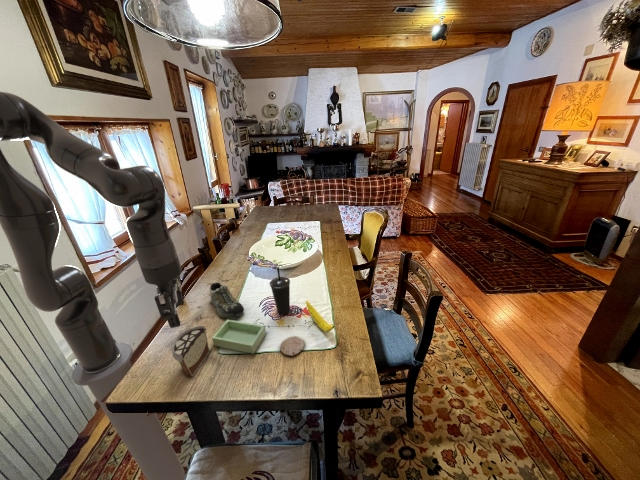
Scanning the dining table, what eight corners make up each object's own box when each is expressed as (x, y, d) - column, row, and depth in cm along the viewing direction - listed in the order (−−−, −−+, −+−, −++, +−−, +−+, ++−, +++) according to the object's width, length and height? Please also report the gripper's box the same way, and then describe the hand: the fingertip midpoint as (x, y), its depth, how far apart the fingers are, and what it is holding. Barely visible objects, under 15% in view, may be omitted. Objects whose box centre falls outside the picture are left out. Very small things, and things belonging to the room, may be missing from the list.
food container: (195, 346, 86) (187, 323, 82) (212, 347, 85) (205, 325, 81) (170, 378, 75) (160, 354, 71) (189, 381, 74) (179, 356, 70)
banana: (310, 308, 101) (309, 295, 98) (338, 339, 86) (337, 324, 84) (303, 311, 100) (302, 298, 97) (331, 342, 85) (330, 328, 82)
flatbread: (286, 360, 79) (286, 358, 79) (276, 344, 85) (276, 342, 85) (309, 348, 83) (308, 346, 82) (298, 334, 89) (298, 332, 88)
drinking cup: (276, 320, 96) (269, 275, 88) (272, 308, 103) (265, 265, 94) (295, 314, 99) (290, 270, 90) (290, 302, 105) (285, 260, 97)
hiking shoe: (229, 325, 94) (224, 305, 90) (204, 302, 108) (199, 283, 104) (249, 314, 100) (245, 294, 96) (222, 293, 113) (218, 275, 110)
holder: (214, 345, 86) (211, 337, 84) (229, 326, 94) (227, 319, 92) (253, 353, 82) (252, 345, 81) (266, 333, 90) (265, 325, 89)
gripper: (146, 249, 62) (166, 302, 69) (130, 278, 50) (155, 339, 57) (180, 243, 64) (195, 295, 71) (172, 270, 52) (192, 329, 59)
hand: (177, 314), depth 64 cm, fingers open, 8 cm apart
